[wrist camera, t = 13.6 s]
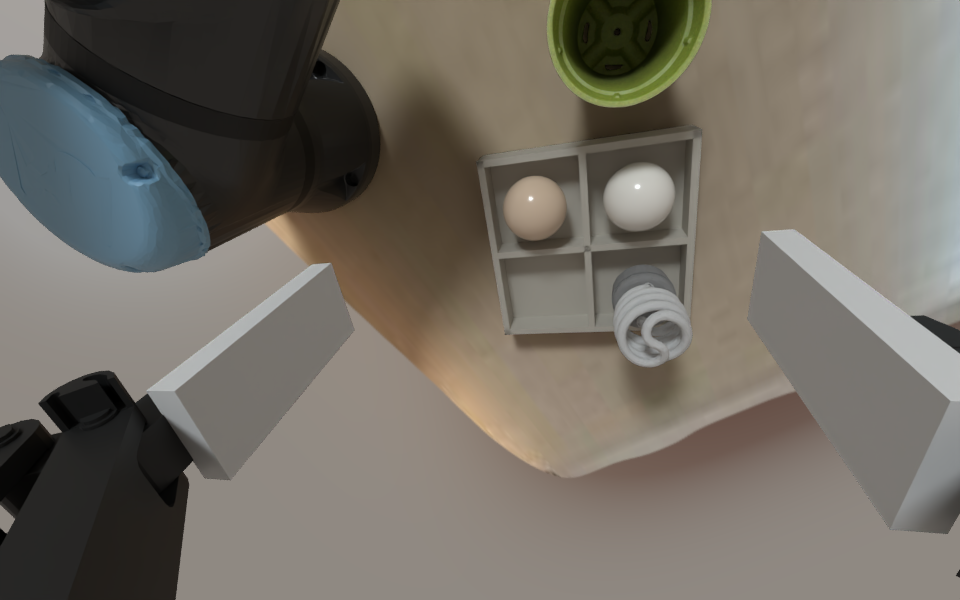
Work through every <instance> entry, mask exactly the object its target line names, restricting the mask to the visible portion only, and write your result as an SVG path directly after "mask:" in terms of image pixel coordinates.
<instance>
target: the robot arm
mask: <svg viewBox="0 0 960 600" xmlns="http://www.w3.org/2000/svg"><path fill="white" fill-rule="evenodd" d="M339 2H340V0H45V17H44V45H43V54H42V56H41V57H40V58H39V59H38V58H34V57H32V56H29V55H9V56H7V57H5V58H4V59H3V60H0V177H1V178H2V180H3V181H4V182H5V184H6V185H7V186H8V187H9V189H10V190H11V191H12V192H13V193H14V194H15V195H16V196H17V198H18V199H19V201H20V202H21V203H22V204H23V205H24V206H25V207H26V209H27V210H28V211H29V212H30V213H31V214H32V215H33V216H34V217H35V218H36V219H37V220H38V221H39V222H40V223H42V224H43V225H44V226H45V227H46V228H47V229H48V230H49V231H51V232H52V233H53V234H54V235H56V236H57V237H58V238H59V239H61V240H62V241H63V242H65V243H66V244H68V245H69V246H71V247H72V248H74V249H75V250H77V251H78V252H80V253H82V254H84V255H86V256H88V257H89V258H91V259H93V260H95V261H97V262H99V263H101V264H104V265H107V266H109V267H112V268H116V269H118V270H123V271H128V272H137V273H138V272H139V273H140V272H157V271H161V270H164V269H167V268H170V267H172V266H176V265H179V264H181V263H184V262H187V261H190V260H196V259H199V258H201V257H202V256H205V253H207V252H208V251H209V250H211V249H213V248H215V247H218V246H219V245H222V244H224V243H225V242H228V241H230V240H232V239H234V238H236V237H238V236H240V235H242V234H244V233H246V232H248V231H250V230H252V229H254V228H256V227H258V226H260V225H262V224H264V223H266V222H268V221H270V220H272V219H274V218H276V217H278V216H280V215H282V214H284V213H286V212H300V213H321V212H327V211H331V210H334V209H337V208H339V207H341V206H343V205H345V204H347V203H348V202H350V201H352V200H354V199H355V198H356V197H358V196H359V195H360V194H361V193H362V192H363V191H364V190H365V189H366V188H367V186H368V185H369V183H370V182H371V180H372V178H373V176H374V174H375V171H376V168H377V164H378V160H379V152H380V136H379V128H378V123H377V119H376V116H375V112H374V110H373V107H372V104H371V102H370V100H369V98H368V96H367V94H366V92H365V90H364V89H363V87H362V86H361V84H360V83H359V81H358V80H357V79H356V77H355V76H354V75H353V74H352V72H351V71H350V70H349V69H348V68H347V67H346V66H345V65H344V64H342V63H341V62H340V61H339V60H338V59H336V58H335V57H334V56H332V55H331V54H329V53H327V52H326V51H324V50H322V49H321V48H322V46H323V43H324V40H325V38H326V35H327V33H328V30H329V27H330V25H331V22H332V20H333V17H334V14H335V12H336V9H337V7H338V4H339ZM747 319H748V321H749V322H750V324H751V325H752V327H753V328H754V330H755V331H756V333H757V334H758V336H759V337H760V339H761V340H762V342H763V343H764V344H765V346H766V347H767V349H768V350H769V352H770V353H771V355H772V356H773V358H774V359H775V361H776V362H777V364H778V365H779V367H780V368H781V370H782V371H783V373H784V374H785V375H786V377H787V378H788V380H789V381H790V383H791V384H792V386H793V387H794V389H795V390H796V392H797V393H798V395H799V396H800V398H801V399H802V401H803V402H804V403H805V405H806V406H807V408H808V409H809V411H810V412H811V414H812V415H813V417H814V418H815V420H816V421H817V423H818V424H819V425H820V427H821V429H822V430H823V432H824V433H825V435H826V436H827V437H828V439H829V440H830V442H831V443H832V445H833V446H834V448H835V449H836V451H837V452H838V454H839V455H840V457H841V458H842V460H843V461H844V463H845V464H846V465H847V467H848V468H849V470H850V471H851V473H852V474H853V476H854V477H855V478H856V480H857V482H858V483H859V485H860V486H861V488H862V489H863V491H864V492H865V493H866V495H867V496H868V498H869V499H870V501H871V502H872V504H873V505H874V507H875V508H876V510H877V511H878V512H879V514H880V516H881V517H882V518H883V520H884V522H885V523H886V525H887V526H888V527H889V529H890V530H904V531H916V532H929V533H943V534H948V532H949V531H950V529H951V527H952V526H953V524H954V522H955V520H956V519H957V517H958V515H959V514H960V331H959V330H958V329H955V328H953V327H950V326H948V325H946V324H943V323H941V322H938V321H936V320H934V319H931V318H929V317H926V316H909V315H908V314H906V313H905V312H904V311H902V310H901V309H900V308H898V307H897V306H896V305H894V304H893V303H892V302H890V301H889V300H888V299H886V298H885V297H884V296H882V295H881V294H880V293H878V292H877V291H876V290H874V289H873V288H872V287H870V286H869V285H868V284H866V283H865V282H864V281H862V280H861V279H860V278H858V277H857V276H856V275H854V274H853V273H852V272H850V271H849V270H848V269H846V268H845V267H844V266H842V265H841V264H840V263H839V262H837V261H836V260H835V259H833V258H832V257H831V256H829V255H828V254H827V253H825V252H824V251H823V250H821V249H820V248H819V247H817V246H816V245H815V244H813V243H812V242H811V241H809V240H808V239H807V238H805V237H804V236H803V235H801V234H800V233H799V232H797V231H796V230H795V229H790V230H777V231H763V232H761V238H760V244H759V250H758V256H757V262H756V268H755V275H754V281H753V287H752V293H751V299H750V305H749V311H748V317H747ZM353 331H354V327H353V324H352V322H351V319H350V316H349V313H348V310H347V307H346V304H345V301H344V298H343V295H342V292H341V290H340V287H339V284H338V281H337V278H336V275H335V272H334V269H333V266H332V263H323V264H312V265H310V266H309V267H308V268H307V269H305V270H304V271H303V272H301V273H300V274H299V275H297V276H296V277H295V278H293V279H292V280H291V281H289V282H288V283H287V284H285V285H284V286H283V287H282V288H280V289H279V290H278V291H276V292H275V293H274V294H272V295H271V296H270V297H269V298H267V299H266V300H265V301H263V302H262V303H261V304H259V305H258V306H257V307H256V308H254V309H253V310H252V311H250V312H249V313H248V314H246V315H245V316H244V317H242V318H241V319H240V320H238V321H237V322H236V323H235V324H233V325H232V326H230V327H229V328H228V329H227V330H225V331H224V332H223V333H221V334H220V335H219V336H218V337H216V338H215V339H213V340H212V341H211V342H210V343H208V344H207V345H206V346H204V347H203V348H202V349H200V350H199V351H198V352H196V353H195V354H194V355H193V356H191V357H190V358H189V359H187V360H186V361H185V362H183V363H182V364H181V365H180V366H178V367H177V368H176V369H174V370H173V371H172V372H170V373H169V374H168V375H166V376H165V377H164V378H162V379H161V380H160V381H158V382H157V383H156V384H155V385H153V386H152V387H151V388H149V389H148V390H147V393H148V394H146V395H145V396H144V397H143V398H141V399H140V400H139V401H137V402H136V403H135V402H134V401H133V399H132V398H131V396H130V395H129V394H128V392H127V391H126V389H125V388H124V386H123V385H122V383H121V382H120V381H119V379H118V378H117V376H116V375H115V374H114V372H111V371H99V372H95V373H91V374H88V375H85V376H82V377H80V378H77V379H75V380H72V381H70V382H68V383H66V384H65V385H63V386H60V387H59V388H57V389H56V390H54V391H52V392H51V393H49V394H48V395H47V396H45V397H44V398H43V399H42V400H41V401H40V402H39V405H40V406H41V407H42V409H43V410H44V411H45V412H46V413H47V415H48V416H49V417H50V418H51V419H52V420H53V422H54V423H55V424H56V425H57V427H58V428H59V429H60V430H61V431H62V433H57V434H53V435H51V434H50V433H49V432H48V431H47V430H46V428H45V427H44V426H43V425H42V424H41V423H40V421H39V420H34V419H30V420H24V421H20V422H17V423H14V424H11V425H10V424H8V425H5V426H2V427H0V505H1V506H2V507H3V508H4V509H5V510H7V511H8V512H9V513H10V514H11V515H12V516H13V517H14V518H15V521H14V523H13V524H12V526H11V528H10V530H9V532H8V533H5V532H4V531H3V530H2V529H0V600H175V599H176V591H177V582H178V574H179V565H180V557H181V548H182V540H183V532H184V531H183V530H184V523H185V514H186V505H187V498H188V489H189V482H188V478H187V477H186V475H185V474H184V472H183V471H184V470H185V469H186V468H187V467H188V465H190V463H191V462H192V461H193V462H194V463H195V465H196V466H197V468H198V469H199V470H200V472H201V474H202V475H203V477H204V478H207V479H220V480H231V479H232V478H233V477H234V475H235V474H236V473H237V472H238V471H239V469H240V468H241V467H242V466H243V465H244V463H245V462H246V461H247V460H248V458H249V457H250V456H251V455H252V454H253V452H254V451H255V450H256V449H257V448H258V446H259V445H260V444H261V443H262V442H263V440H264V439H265V438H266V437H267V435H268V434H269V433H270V432H271V430H272V429H273V428H274V427H275V426H276V424H277V423H278V422H279V421H280V420H281V419H282V417H283V416H284V415H285V414H286V412H287V411H288V410H289V409H290V407H291V406H292V405H293V404H294V403H295V402H296V400H297V399H298V397H300V395H301V394H302V393H303V392H304V390H305V389H306V388H307V387H308V386H309V384H310V383H311V382H312V381H313V379H315V377H316V376H317V375H318V374H319V372H320V371H321V370H322V369H323V368H324V366H325V365H326V364H327V363H328V362H329V360H330V359H331V358H332V357H333V355H334V354H335V353H336V352H337V351H338V349H339V348H340V347H341V346H342V344H343V343H344V342H345V341H346V340H347V339H348V337H349V336H350V335H351V334H352V333H353ZM956 576H958V577H960V570H959V572H958V573H957V575H956Z"/></svg>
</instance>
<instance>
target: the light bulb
mask: <svg viewBox="0 0 960 600" xmlns="http://www.w3.org/2000/svg"><path fill="white" fill-rule="evenodd" d="M612 305H613V309H614V317H613V326H614V334H615V338H616V340H617V343H618V346H619V349H620V350H621V352H622V354H623V355H624V356H625V357H626V358H627V359H628V360H629V361H631V362H632V363H633V364H636V365H638V366H642V367H656V366H659V365H661V364H664V363H665V362H666V361H669V360H672V359H674V358H676V357H678V356H680V355H681V354H683V353H684V352H685V351H686V349H687V348H688V347H689V345H690V343H691V341H692V328H691V322H690V319H689V316H688V315H687V311H686V309H685V307H684V305H683V304H682V303H681V302H680V300H679V299H678V297H677V294H676V291H675V288H674V285H673V284H672V282H671V281H670V280H669V278H668V277H667V276H666V274H665V273H664V272H663V271H662V270H660V269H659V268H657V267H654V266H651V265H636V266H633V267H630V268H628V269H626V270H624V271H623V272H622V273H621V274H620V275H618V277H617V278H616V280H615V282H614V284H613V289H612ZM664 321H668V322H667V323H665V324H664V325H662V326H660V327H655V328H654V326H657V325H660V324H661V323H663V322H664ZM629 326H633V327H636V328H641V329H642V330H641V335H642V336H639V335H636V334H634V333H633V332H631V331H630V330H629V329H628V328H629ZM652 336H654V338H653V337H652ZM656 336H660V337H656Z"/></svg>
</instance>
